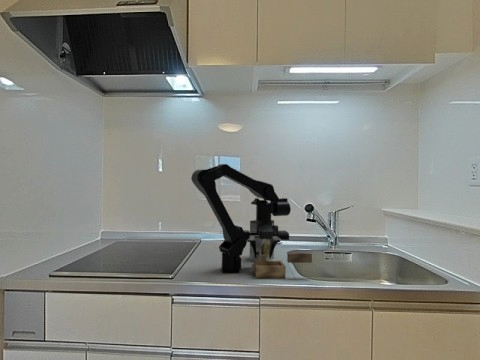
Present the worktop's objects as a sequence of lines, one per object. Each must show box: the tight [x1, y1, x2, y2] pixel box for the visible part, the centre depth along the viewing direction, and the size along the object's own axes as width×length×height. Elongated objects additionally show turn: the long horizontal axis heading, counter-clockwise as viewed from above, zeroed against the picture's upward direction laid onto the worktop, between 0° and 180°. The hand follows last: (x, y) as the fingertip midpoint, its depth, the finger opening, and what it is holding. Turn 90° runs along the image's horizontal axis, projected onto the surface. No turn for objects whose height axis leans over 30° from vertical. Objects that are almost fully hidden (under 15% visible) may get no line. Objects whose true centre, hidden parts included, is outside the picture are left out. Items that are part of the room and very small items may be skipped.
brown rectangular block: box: [286, 252, 313, 264], centre depth 126 cm, size 8×2×3 cm, turn 95°
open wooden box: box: [252, 260, 287, 279], centre depth 128 cm, size 10×8×4 cm
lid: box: [251, 255, 267, 267], centre depth 138 cm, size 10×8×5 cm
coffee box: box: [249, 219, 275, 261], centre depth 153 cm, size 9×6×16 cm
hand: (262, 258), depth 139 cm, fingers open, 5 cm apart
